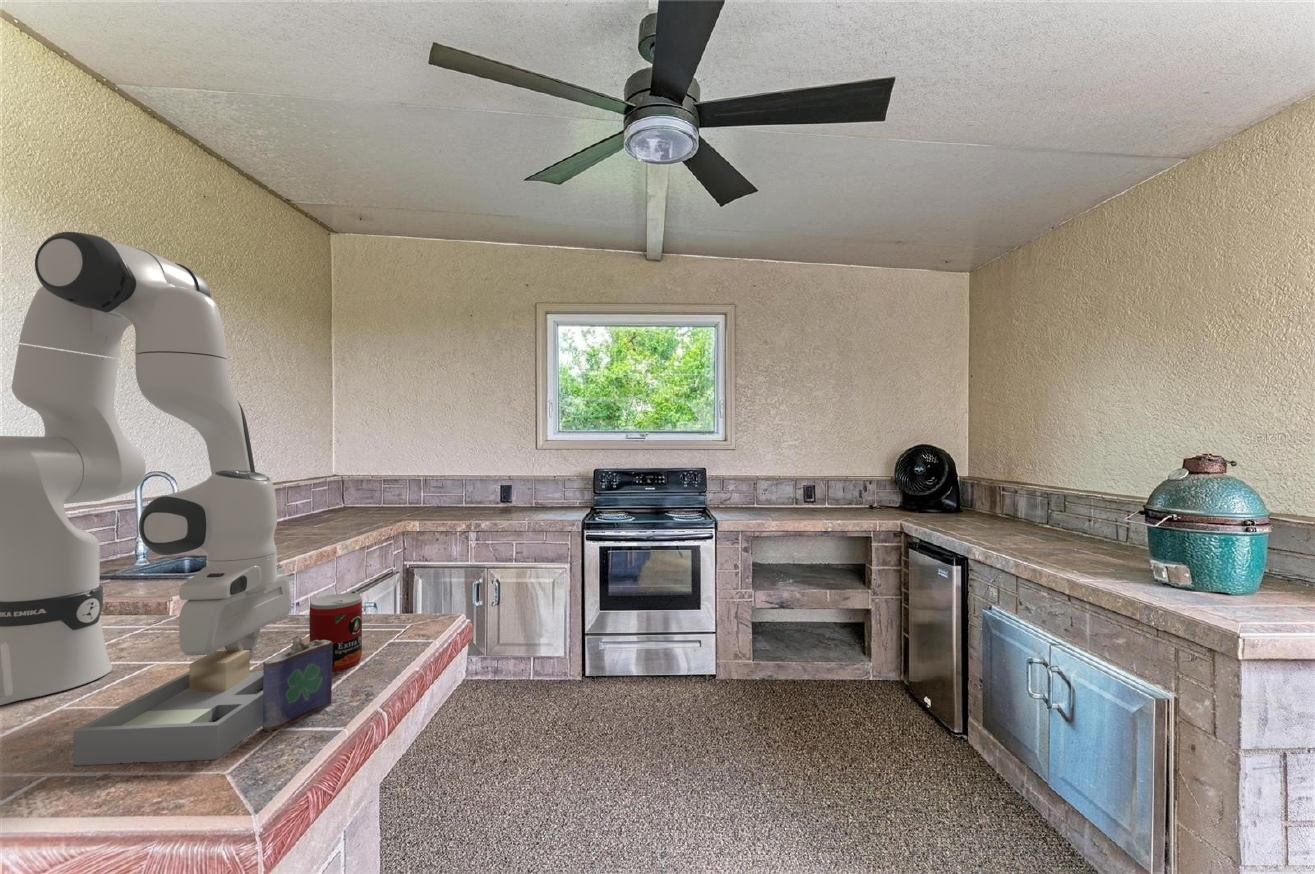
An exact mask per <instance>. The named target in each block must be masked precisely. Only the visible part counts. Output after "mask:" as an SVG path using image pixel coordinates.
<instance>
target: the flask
mask: <svg viewBox="0 0 1315 874" xmlns="http://www.w3.org/2000/svg"><path fill="white" fill-rule="evenodd" d="M303 640H304V639H303V638H302V636H300V635H297V636H294V637H292V638H291V639H288V641H289V642H292V645H291V646H290V649H291V650H288V651H286V652H285V651H284V652H283V653H281V654H277V655H275V656H272V657H270V658H268V659H266V660H265V661H264V662H263V663H262V665H263V667H262V669H263V671H262V672H263V673H264V678H263V724H262V725H261V727H262V729H263V731H264V732H266V731H267V732H270V733H271V732H272V731H273V730H279V729H282V728H286V726H287V725H290V724H292V723H295V722H297V721H299V720H302V719H303V718H306V717H307V716H308V715H309V714H314V713H315V712H317V711H320V710H322V709H324V708H326V707H330V705H331V704H332V693H333V692H332V689H333V688H332V687H333V686H332V685H333V684H332V681H333V671H332V656H333V652H332V649H333V642H332V641H328V640H321V641H319V640H315V641H313V642H310V641H309V642H307V643H306V642H304V641H303ZM314 642H315V643H314Z"/></svg>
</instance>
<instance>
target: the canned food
mask: <svg viewBox="0 0 1315 874" xmlns="http://www.w3.org/2000/svg"><path fill="white" fill-rule="evenodd" d="M308 615H309V616H308V617H309V643H310V642H313V641H315V640H319V641H321V640H328V641H332V642H333V649H332V652H333V656H332V672H337V670H338V671H343V670H345V669H349V668H351V666H352V667H353V665H354V666H356V665H357V664H358V663H360V661H361V659H362V655H363V654H362V653H363V650H362V649H363V647H362V646H363V599H362V595H361V594H358V593H346V592H345V593H335V594H334V593H333V594H328V595H323V596H319V597H317V598H314V599H312V600H311V601H310V602H309V614H308ZM314 643H315V642H314ZM355 664H356V665H355ZM348 667H349V668H348Z"/></svg>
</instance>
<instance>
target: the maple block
mask: <svg viewBox="0 0 1315 874" xmlns="http://www.w3.org/2000/svg"><path fill="white" fill-rule="evenodd" d="M250 663H251V660H250V650H237V651H226V650H217V651H215V652H213V653H211V654H208V655H204V656H203V657H201V658H199V659H197V660H195V661H193V662H191V663H189V671H190V674H189V692H211V691H227V690H228V689H230V688H232V687H233V686H235V685H237V684H238V683H240V682H241V681H243V680H245V679H246V678H248V677H250V673H251V672H250V666H251V665H250Z"/></svg>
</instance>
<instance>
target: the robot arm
mask: <svg viewBox="0 0 1315 874" xmlns="http://www.w3.org/2000/svg"><path fill="white" fill-rule="evenodd" d="M34 270H35V273H36V278H37V279H38V281H39V283H40V284H41V285H42V286H40V287H39V288H38V289H37V290H36V292H35V295H34V296H33V298H32V301H31V302H30V305H29V307H28V310H27V312H26V315H25V318H24V320H23V324H22V328H21V331H20V336H19V341H18V343H19V344H18V348H17V355H16V359H15V365H14V371H13V376H12V377H13V378H12V383H11V390H12V393H13V395H14V397H15V398H16V399H17V400H18V401H19V402H20V403H21V404H23V405H25V406H26V407H28V408H30V409H32V410H34V411H36V412H37V413H38V415H39V416H40V418H41V421H42V423H43V426H44V436H32V435H30V436H27V435H25V436H22V435H20V436H19V435H15V436H14V435H0V706H3V705H7V704H11V703H13V702H17V701H18V702H19V701H21V700H22V701H23V700H26V699H27V700H28V699H32V698H38V697H42V696H46V695H50V694H54V693H58V692H62V691H66V690H69V689H73V688H76V687H79V686H82V685H85V684H87V683H90V682H93V681H95V680H97V679H100V678H102V677H103V676H105V675H107V674H109V673H110V672H111V671H112V670H113V668H114V667H113V665H112V663H111V661H110V658H109V653H108V650H107V645H106V641H105V635H104V630H103V629H104V627H103V624H102V618H101V614H102V611H103V610H102V609H103V607H104V596H105V595H104V594H105V593H104V588H103V585H101V584H100V571H101V570H100V566H101V565H100V563H101V562H100V558H101V556H100V555H101V554H100V550H101V547H100V546H101V545H100V542H99V540H98V538H97V537H96V536H95V535H94V534H92V533H91V532H89V531H86V530H83V529H81V528H77V527H75V526H74V524H72V522H71V521H70V520H69V518H68V515H67V513H66V509H65V505H67V504H79V503H88V502H89V503H90V502H91V503H92V502H100V501H104V500H108V499H112V498H116V497H118V496H122V495H125V494H128V493H131V492H133V491H135V490H136V489H137V488H138V487H139V486H140V485H141V483H142V482H143V480H144V478H145V475H146V472H147V471H146V470H147V466H146V465H147V463H146V460H145V457H144V456H143V453H142V452H141V451H140V449H138V448H137V447H136V445H133V444H132V443H131V442H130V441H129V440H128V439H127V438H126V435H124V433H123V431H122V429H121V427H120V425H119V422H118V419H117V416H116V411H115V392H116V381H117V376H118V375H117V374H118V367H119V362H120V360H119V359H120V354H121V347H122V339H123V335H124V333H125V331H126V330H127V329H128V328H129V327H131V326H133V328H134V331H135V332H134V334H135V349H134V351H135V354H134V355H135V360H134V361H135V377H136V380H137V381H136V382H137V385H138V388H139V391H140V392H141V395H142V396H143V397H144V398H145V399H146V400H147V401H148V402H149V403H150V404H152V405H153V406H154V407H156V408H157V409H159V410H160V411H162V412H164V413H166V414H168V415H170V416H171V417H175V418H177V419H179V420H180V421H182V422H184V423H186V424H188V425H189V426H191V427H192V428H194V430H196V431H197V432H198V434H200V436H201V437H202V438H203V440H204V442H205V445H206V449H207V456H208V460H209V461H208V462H209V466H210V472H211V474H210V476H208V478H207V479H205V480H204V481H202V482H200V483H199V484H195V485H194V486H191V487H189V488H186V489H184V490H180V491H176V492H174V493H170V494H165V495H163V496H158V497H156V498H154V499H153V500H151V501H150V502H149V503H148V504H147V505H146V506H145V507H144V509H143V510H142V513H141V515H140V517H139V520H138V532H139V536H140V539H141V540H142V542H143V544H144V545H145V547H147V548H148V549H149V550H150V551H152V552H154V553H155V554H158V555H160V556H182V555H184V556H185V555H189V554H194V553H199V552H205V555H206V559H205V560H206V561H205V562H206V566H204V567H202V569H200V570H199V571H198V572H197V573H196V574H195V575H193V576H192V577H191V578H190V579H188V580H187V581H185V582H184V583H183V584H181V585H180V587H179V589H178V597H179V599H180V600H181V601H185V602H184V603H183V605H182V606H181V608H180V612H179V620H178V621H179V623H178V625H179V626H178V628H179V629H178V639H179V641H178V642H179V649H180V651H181V652H182V654H183V655H185V656H189V657H190V656H207V655H209V654H211V653H213V652H215V651H220V649H222V648H224V649H225V651H237V650H250V661H252V660H253V659H255V648H256V647H257V646H256V645H257V644H258V640H259V638H260V636H261V629H262V628H264V627H266V626H268V625H270V624H272V623H274V622H276V621H278V620H281V619H282V618H285V617H286V616H288V615H289V614H290V611H291V608H292V595H291V586H290V584H291V583H290V579H289V577H288V575H287V574H286V573H285V572H286V571H285V568H284V567H283V566H282V565H281V564H280V563H279V562H278V550H277V549H278V548H277V546H276V542H275V533H276V529H277V525H278V509H277V505H278V504H277V495H276V490H275V486H274V483H273V482H272V479H271V478H270V477H269V476H267V475H265V474H264V473H261V472H257V471H256V469H255V463H254V457H253V450H252V445H251V439H250V438H251V437H250V432H249V429H248V423H247V419H246V418H247V417H246V416H245V415H246V414H245V412H244V409H243V406H242V405H241V403H240V402H239V400H238V398H237V397H236V395H235V393H234V390H233V387H232V386H233V385H232V382H231V379H230V378H231V377H230V375H229V365H228V364H229V363H228V348H227V341H226V335H225V328H224V324H223V320H222V316H221V313H220V308H219V306H218V305H217V303H216V302H215V301H214V300H213V299H212V297H211V291H210V288H209V286H208V284H207V282H206V281H205V279H203V278H202V277H201V276H200V275H199V274H198V273H196V272H195V271H193V270H192V269H190V268H189V267H186V266H184V265H183V264H181V263H180V264H179V263H176V262H173V261H172V260H169V259H167V258H165V257H162V256H160V255H157V254H155V253H154V252H150V251H148V250H145V249H142V248H136V247H132V246H129V245H126V244H123V243H119V242H116V241H115V242H114V241H111V240H107V239H106V238H104V237H102V236H99V235H95V234H90V233H85V232H77V231H76V232H75V231H61V232H58V233H55V234H53V235H51V236H49V237H48V238H47V239H45V240H44V242H42V244H41V245H40V246H39V248H38V250H37V251H36V254H35V258H34Z"/></svg>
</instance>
